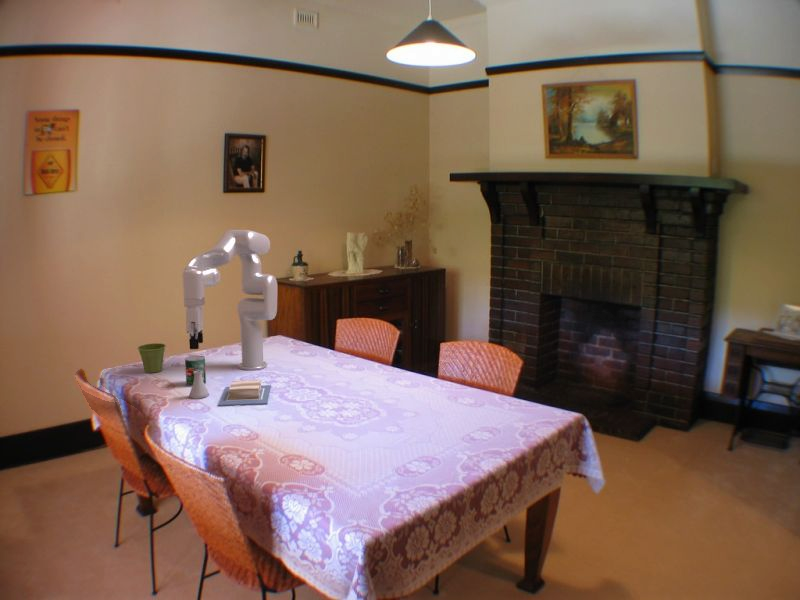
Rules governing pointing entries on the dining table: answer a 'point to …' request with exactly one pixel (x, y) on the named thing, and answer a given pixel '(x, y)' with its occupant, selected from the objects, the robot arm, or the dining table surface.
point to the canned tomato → (194, 368)
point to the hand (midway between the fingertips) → (196, 345)
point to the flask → (198, 386)
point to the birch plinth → (245, 389)
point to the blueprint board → (262, 399)
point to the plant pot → (152, 356)
